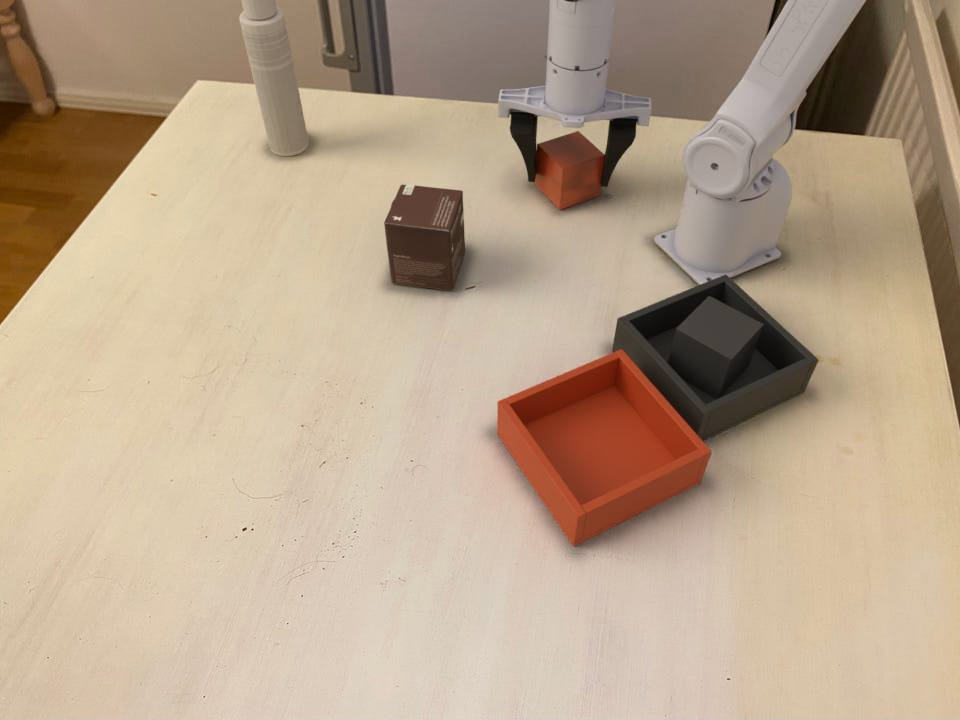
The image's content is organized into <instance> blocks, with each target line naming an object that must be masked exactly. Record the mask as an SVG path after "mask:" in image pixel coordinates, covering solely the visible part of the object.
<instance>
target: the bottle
mask: <svg viewBox="0 0 960 720" xmlns="http://www.w3.org/2000/svg"><path fill="white" fill-rule="evenodd" d="M240 1H241V6H242V10H243V11H242V12H241V13H240V14H239V17H238V21H239V25H240V28H241V33H242V36H243V40H244V46H245V49H246V53H247V58H248V62H249V66H250V70H251V73H252V75H251V76H252V79H253V84H254V87H255V92H256V95H257V100H258V104H259V108H260V113H261V118H262V121H263V125H264V129H265V134H266V138H267V143H268V146H269V149H270V151H271V152H272V153H273V154H275V155H277V156H279V157H293V156H297V155H300V154H301V153H303V152H304V151H306V150H307V149H308V147H309V143H310V142H309V141H310V140H309V136H308V131H307V125H306V121H305V115H304V111H303V106H302V101H301V95H300V90H299V84H298V79H297V75H296V69H295V64H294V60H293V54H292V49H291V48H292V47H291V43H290V38H289V33H288V28H287V23H286V19H285V12H284V11H283V9H282V8H280V7H279V6H277V5H276V4H277V3H276V0H240Z"/></svg>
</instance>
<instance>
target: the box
mask: <svg viewBox="0 0 960 720" xmlns="http://www.w3.org/2000/svg"><path fill="white" fill-rule="evenodd" d="M383 225H384V233H385V234H384V235H385V242H386V251H387V259H388V265H389V273H390V274H389V275H390V282H391V283H392V284H394V285H402V286H411V287H418V288H428V289H433V290H434V289H435V290H441V291H453V289H454V287H455V285H456V282H457V279H458V277H459V273H460V269H461V266H462V264H463V259H464V257H465V254H466V241H465V240H466V239H465V238H466V235H465V213H464V190H460V189H450V188H443V187H441V188H440V187H434V186H433V187H432V186H423V185H416V184H414V185H413V184H400V186H399V188H398V190H397V192H396V195H395V197H394V198H393V200H392V202H391V204H390V209H389V211H388V213H387V215H386V217H385V219H384V223H383Z"/></svg>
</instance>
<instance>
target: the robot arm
mask: <svg viewBox="0 0 960 720" xmlns="http://www.w3.org/2000/svg"><path fill="white" fill-rule="evenodd" d="M866 2H867V0H787V1H786V3H785V4H784V6H783V8H782V10H781V11H780V13H779V15H778V16H777V18H776V20H775V21H774V23H773V25H772V26H771V28H770V30H769V31H768V33H767V35H766V37H765V38H764V40H763V42H762V44H761V46H760V47H759V48H758V51H757V52H756V54H755V56H754V57H753V59H752V61H751V63H750V64H749V66H748V68H747V70H746V71H745V73H744V75H743V76H742V78H741V79H740V81H739V82H738V83H737V85H736V86H735V88H734V89H733V90H732V91H731V93H730V94H729V95H728V97H727V98H726V99H725V100H724V102H723V103H722V104H721V106H720V107H719V109H718V110H717V112H715V115H714V116H713V117H712V118H711V119H710V120H709V121H708V122H707V123H706V124H705V125H704V126H703V127H702V128H701V129H700V130H698V131H696V132H695V133H693V134H692V135H691V136H690V137H689V138H688V139H687V141H686V142H685V144H684V147H683V150H682V153H681V162H682V168H683V170H684V174H685V175H686V177H687V179H686V182H685V188H684V192H683V197H682V202H681V205H680V209H679V210H680V211H679V215H678V220H677V224H676V228H673V229H670V230H668V231H665V232H663V233H659V234H657V235H655V236H654V239H653V241H654V243H655V244H656V245H657V246H658V247H659V248H660V249H661V250H662V251H663V252H664V253H666V255H667V256H668V257H670V259H672V260H673V261H674V263H676V264H677V265H678V266H679V267H680V268H681V269H682V270H683V271H684V272H685V273H686V274H687V275H688V276H689V277H690V278H691V279H692V280H694V281H695V282H696V284H698V285H701V284H703V283H706V282H708V281H711V280H713V279H715V278H718V277H720V276H723V275H725V274H726V275H727V276H728V277H729V278H731V279H732V278H734V277H736V276H738V275H741V274H743V273H746V272H748V271H751V270H753V269H755V268H758V267H761V266H763V265H765V264H767V263H770V262H772V261H775V260H777V259H779V258H780V257H781V255H782V252H781V250H779V249H778V248H777V244H778V240H779V238H780V235H781V233H782V229H783V227H784V223H785V221H786V217H787V215H788V212H789V209H790V206H791V203H792V199H793V188H792V187H793V186H792V181H791V177H790V175H789V173H788V171H787V170H786V168H785V167H784V166H783V164H781V162H780V161H778V160H777V159H776V158H774V156H775V155H776V154H777V153H778V152H779V150H780V149H781V148H782V147H785V145H787V143H788V142H789V141H790V140H791V138H793V135H794V133H795V129H796V124H797V114H798V110H799V107H800V106H801V104H802V103H803V101H804V99H805V98H806V96H807V89H808V88H809V86H810V85H811V84H812V82H813V80H815V77H816V76H817V74H818V73H819V72H820V70H821V69H822V67H823V65H824V64H825V62H826V61H827V60H828V59H829V57H830V55H831V53H832V52H833V50H834V49H835V48H836V46H837V45H838V43H839V42H840V40H841V39H842V37H843V36H844V35H845V33H846V32H847V30H848V29H849V27H850V25H851V24H852V22H853V21H854V19H855V18H856V16H857V15H858V14H859V12H860V10H861V9H862V8H863V6H864V5H865V3H866ZM616 5H617V0H549V14H548V15H549V17H548V33H547V34H548V35H547V51H546V55H547V56H546V69H545V70H546V71H545V72H546V73H545V85H540V86H539V85H538V86H532V87H525V88H516V89H515V88H513V89H500V90H499V95H498V99H497V108H498V109H497V117H498V118H501V119H502V118H503V119H508V118H510V124H509V132H510V136H511V138H512V139H513V142H515V144H516V146H517V148H518V150H519V152H520V154H521V156H522V159H523V162H524V165H525V169H526V174H527V182H529V183H535V178H536V155H537V138H538V137H537V134H538V120H539V119H538V118H539V117H543V118H547V119H550V120H555V121H558V122H561V123H560V124H561V126H562V127H563V128H568V129H569V128H572V129H581V128H583V127H584V126H585V123H592V122H593V123H594V122H599V121H608V129H607V130H608V131H607V138H606V139H607V140H606V147H605V151H604V155H605V160H604V168H603V174H602V180H601V188H607V187H608V186H609V183H610V180H611V178H612V175H613V172H614V170H615V169H616V168H617V167H616V166H617V165H618V163H619V162H620V160H621V159H622V157H623V156H624V154H625V153H626V152H627V150H628V149H629V148H630V147H631V146H632V145H633V144H634V142H635V139H636V137H637V126H640V127H649V125H650V121H651V120H650V119H651V114H652V98H651V97H646V96H637V95H633V94H628V93H624V92H621V91H616V90H612V89H608V88H607V85H608V84H607V83H608V76H609V75H608V74H609V69H610V68H609V66H610V58H611V47H612V41H613V40H612V39H613V33H614V23H615V16H616V15H615V14H616Z"/></svg>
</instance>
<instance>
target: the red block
mask: <svg viewBox="0 0 960 720" xmlns="http://www.w3.org/2000/svg"><path fill="white" fill-rule="evenodd" d="M536 147H537V155H536V178H535V182H534V185H535V186H536V187H537V188H538V189H539V190H540V191H541V192H542V193H543V195H545V196H546V198H548V200H550V202H551V203H552V204H553V205H554V206H555V207H556V208H557V209H558V210H559V211H560V210H563V209H566V208H570V207H572V206H574V205H579V204H581V203H584V202H586V201H589V200H591V199H594V198H597V197H600V196H601V191H602V187H601V180H602V174H603V168H604V160H605V153H603V152H602V151H601V150H600V149H599V148H598V147H596V145H595V144H594V143H593V142H591V141H590V140H589V139H588V138H587V137H586V136H584V134H583V133H582V132H580V131H579V130H576V131H574V132H570V133H567V134H564V135H561V136H558V137H555V138H552V139H548V140H545V141H542V142H539V143H536Z"/></svg>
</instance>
